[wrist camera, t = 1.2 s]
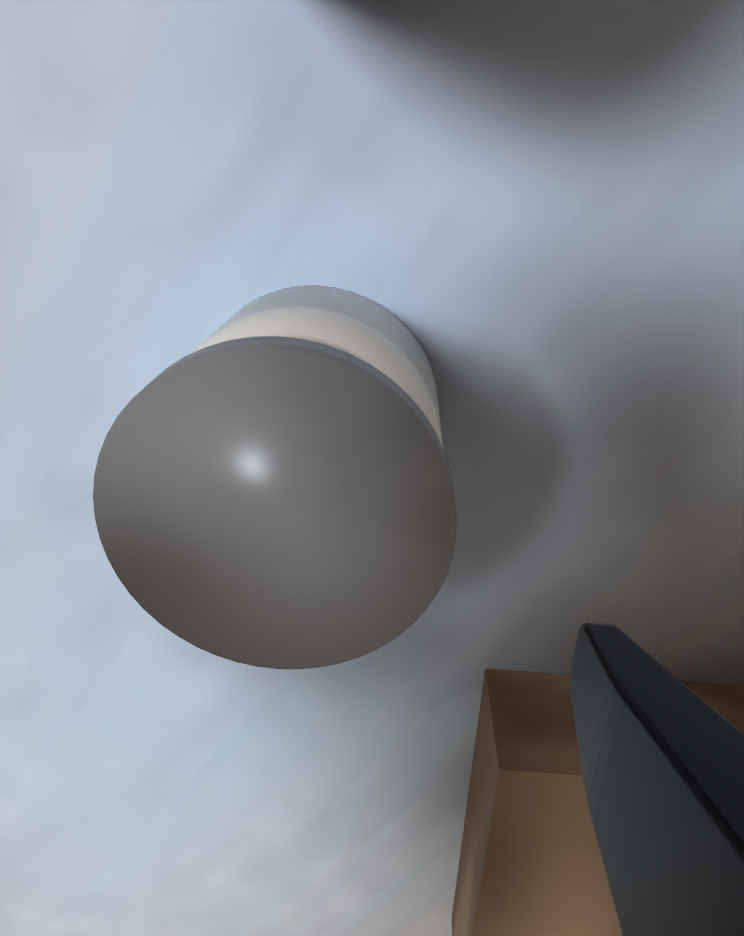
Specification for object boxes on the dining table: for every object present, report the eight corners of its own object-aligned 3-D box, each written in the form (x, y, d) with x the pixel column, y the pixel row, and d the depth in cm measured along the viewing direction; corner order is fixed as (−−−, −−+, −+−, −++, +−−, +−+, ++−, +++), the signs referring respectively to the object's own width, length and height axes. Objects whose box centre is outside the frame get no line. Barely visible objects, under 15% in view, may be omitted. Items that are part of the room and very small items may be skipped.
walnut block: (890, 686, 20) (995, 804, 17) (774, 933, 25) (834, 1064, 22) (484, 660, 21) (499, 769, 17) (451, 908, 26) (457, 1033, 22)
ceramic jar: (452, 286, 16) (472, 358, 10) (432, 522, 18) (442, 678, 13) (184, 275, 16) (66, 339, 10) (204, 509, 18) (117, 658, 13)
